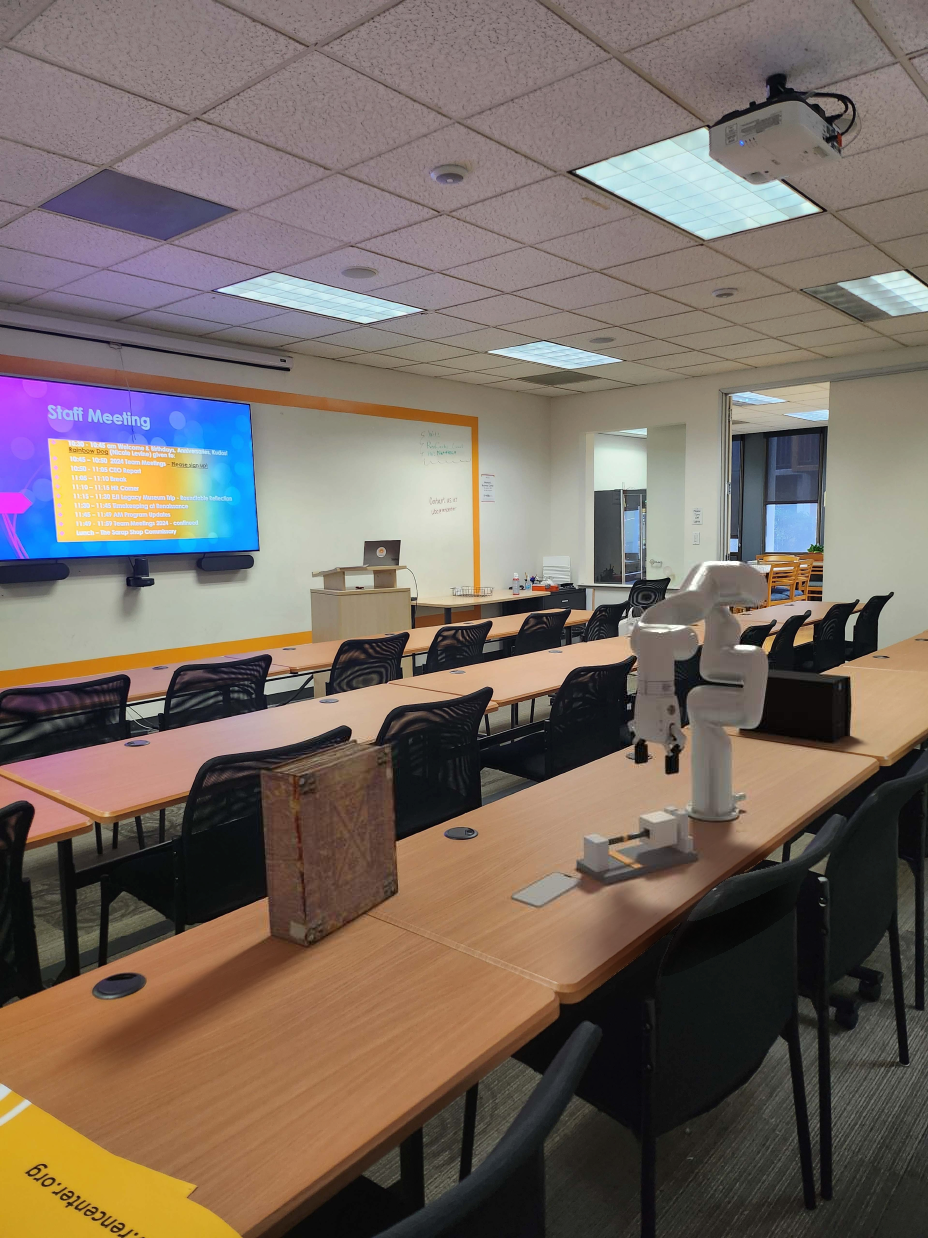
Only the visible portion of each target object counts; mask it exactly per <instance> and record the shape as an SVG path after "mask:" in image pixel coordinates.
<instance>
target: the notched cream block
mask: <svg viewBox="0 0 928 1238" xmlns="http://www.w3.org/2000/svg"><path fill="white" fill-rule="evenodd" d="M645 830H650V836H646V837H642V838H638V842H640V843H641V844H645V845H648V846H650V847H652V848H654V849H657V848H661V847H665V846H669V845H673V844H676V843H677V817H674V816H672V815H669V814H667V813H665V812H664V811H662V810H659V811H655V812H651V813H646V814H642V815H638V832H641V831H645Z"/></svg>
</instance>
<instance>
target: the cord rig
mask: <svg viewBox="0 0 928 1238" xmlns="http://www.w3.org/2000/svg"><path fill="white" fill-rule="evenodd" d="M663 810H664V811H663V812H665V813H667V814H669V815H672V816H674V817H677V843H676V844H673V845H669V846H665V847H661V848H657V849H654V848H652V847H650V846H648V845H645V844H643V843H641V844H636V845H633V846H628V847H625V848H621V849H620V848H619V849H615V850H610V846H614V845H617V844H620V843H622V844H623V843H627V842H629V841H632V840H637V839H638V840H639V838H642V837H646V836H650V830H645V831H641V832H639V831H637V832H633V833H629V834H623V835H620V836H617V837H613V838H608V839H607V838H605V837H603V836H602V835H600V834H597V833H593V834H588V835H584V836H583V858H581V859H576V868H577V869H579V870H580V871H582V872H583V873H585V874H587V875H589V876H591V877H592V878H594V879H595V880H598V882H601V883H603V884H604V885H607V884H612V883H615V882H619V881H623V880H627V879H631V878H634V877H637V876H642V875H646V874H648V873H653V872H656V871H660V870H664V869H668V868H671V867H676V866H679V865H683V864H687V863H689V862H695V861H698V860H699V852H697V851H695V849H694V837H692V836H690V835H689V815H688V813H687V812H686V811H684V810H682V809H680V810H678V808H677V807H674V806H672V805H670V806H666V807H664V808H663Z"/></svg>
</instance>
